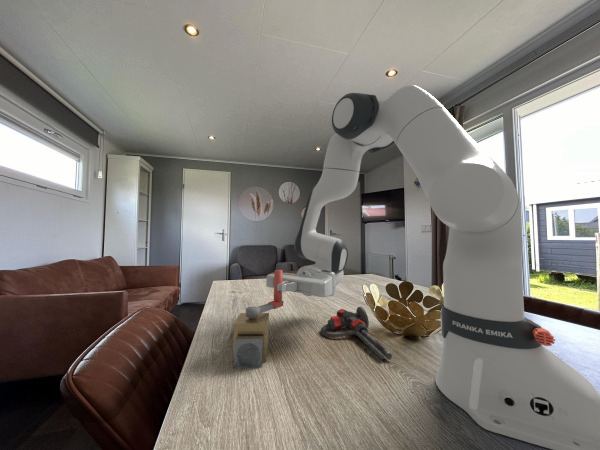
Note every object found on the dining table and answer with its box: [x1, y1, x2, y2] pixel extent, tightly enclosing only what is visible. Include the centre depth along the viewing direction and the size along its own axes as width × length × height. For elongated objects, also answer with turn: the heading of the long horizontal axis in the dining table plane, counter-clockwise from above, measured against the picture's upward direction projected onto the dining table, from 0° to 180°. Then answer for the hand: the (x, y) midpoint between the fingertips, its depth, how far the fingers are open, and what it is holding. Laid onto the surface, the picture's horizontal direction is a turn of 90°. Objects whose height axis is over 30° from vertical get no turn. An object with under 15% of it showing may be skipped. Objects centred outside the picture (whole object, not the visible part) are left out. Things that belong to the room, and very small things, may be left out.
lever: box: [245, 269, 284, 318], centre depth 56 cm, size 12×3×9 cm, turn 147°
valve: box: [320, 306, 393, 360], centre depth 62 cm, size 6×26×15 cm
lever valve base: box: [232, 312, 270, 369], centre depth 52 cm, size 11×7×8 cm, turn 4°
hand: (279, 288), depth 58 cm, fingers closed
